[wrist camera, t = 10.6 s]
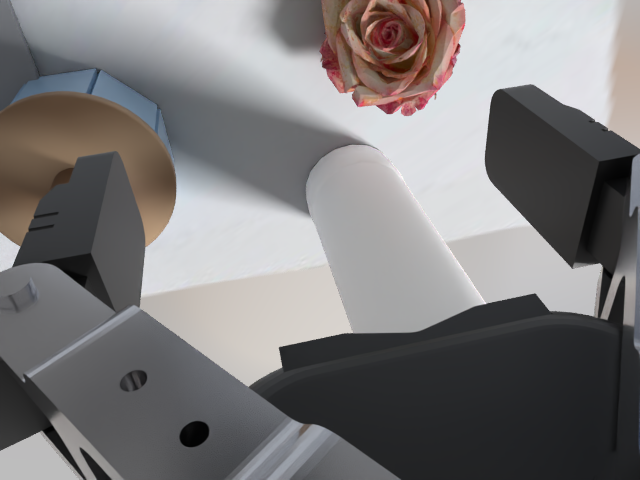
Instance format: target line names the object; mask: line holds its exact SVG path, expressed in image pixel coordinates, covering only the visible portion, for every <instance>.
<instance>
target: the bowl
mask: <svg viewBox="0 0 640 480" xmlns="http://www.w3.org/2000/svg"><path fill="white" fill-rule="evenodd" d="M55 91H72V92H80V93H87V94H91V95H95V96H99V97H102V98H105V99H108V100H110V101H113V102H115V103H117V104H119V105H121V106H123V107H125V108H127V109H128V110H130V111H131V112H133V113H134V114H136V115H137V116H139V117H140V118H141V119H142V120H144V121H145V122H146V123H147V124H148V125H149V126H150V127H151V128H152V129H153V130H154V131H155V132H156V133H157V135H158V136H159V137H160V139H161V140H162V142H163V143H164V144H165V146H166V148H167V150H168V152H169V154H170V156H171V159H172V162H173V165H174V158H173V154H172V150H171V147H170V143H169V139H168V136H167V132H166V128H165V124H164V121H163V117H162V113H161V110H160V109H157V104H155V103H154V102H152V101H150V100H149V99H147V98H146V97H144V96H142V95H141V94H139V93H138V92H136V91H134V90H133V89H131V88H130V87H128V86H126V85H125V84H123V83H122V82H120V81H118V80H117V79H115V78H114V77H112V76H110V75H109V74H107V73H106V72H104V71H102V70H100V72H99V74H97V71H96V68H95V69H88V70H81V71H74V72H67V73H60V74H53V75H46V76H40V77H39V79H38V80H31V81H28V82H27V84H24V85H23V86H22V88H21V89H20V90H19V92H18V93H17V95H16V96H15V98H14V99H13V101H12V102H11V104H12V103H14V102H16V101H18V100H20V99H23V98H26V97H28V96H31V95H35V94H40V93H45V92H55Z"/></svg>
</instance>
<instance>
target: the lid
mask: <svg viewBox="0 0 640 480" xmlns="http://www.w3.org/2000/svg"><path fill="white" fill-rule="evenodd" d="M112 151H117V152H118V153H119V155H120V157H121V159H122V161H123V164H124V167H125V170H126V173H127V176H128V179H129V182H130V185H131V188H132V191H133V194H134V197H135V200H136V203H137V206H138V209H139V212H140V215H141V218H142V222H143V226H144V232H145V247H146V246H148V245H149V244H150V243H152V242H153V241H154V240H155V239H156V238H157V237H158V236H159V235H160V234H161V232H162V231H163V230H164V228H165V227H166V225H167V224H168V222H169V220H170V218H171V215H172V213H173V209H174V206H175V199H176V174H175V169H174V165H173V162H172V159H171V156H170V154H169V152H168V150H167V148H166V146H165V144H164V143H163V142H162V140H161V139H160V137H159V136H158V135H157V133H156V132H155V131H154V130H153V129H152V128H151V127H150V126H149V125H148V124H147V123H146V122H145V121H144V120H142V119H141V118H140V117H139V116H137V115H136V114H134V113H133V112H131V111H130V110H128V109H127V108H125V107H123V106H121V105H119V104H117V103H115V102H113V101H110V100H108V99H105V98H102V97H99V96H95V95H91V94H87V93H80V92H72V91H55V92H45V93H40V94H35V95H31V96H28V97H26V98H23V99H20V100H18V101H16V102H14V103H12V104H10V105H9V106H7V107H6V108H4V109H3V110H2V111H0V232H1V233H2V234H3V235H4V236H6V237H7V238H8V239H10V240H11V241H12V242H14V243H16V244H17V245H19V246H20V247H21V245H22V242H23V240H24V237H25V235H26V232H29V231H28V228H29V225H30V223H31V220H32V219H34V217H33V215H34V213H35V211H36V208H37V206H38V203H39V201H40V200H41V199H42V198H43V197H44V196H45V195H46V194H47V193H48V192H49V191H50V190H51V189H53V188H54V187H55V186H56V185H60V184H66V183H69V181H70V178H71V175H72V172H73V169H74V166H75V163H76V160H77V158H78V157H82V156H88V155H94V154H100V153H106V152H112Z"/></svg>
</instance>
